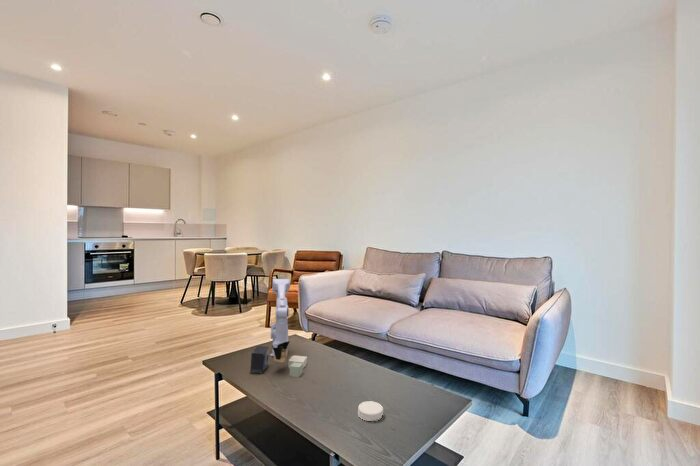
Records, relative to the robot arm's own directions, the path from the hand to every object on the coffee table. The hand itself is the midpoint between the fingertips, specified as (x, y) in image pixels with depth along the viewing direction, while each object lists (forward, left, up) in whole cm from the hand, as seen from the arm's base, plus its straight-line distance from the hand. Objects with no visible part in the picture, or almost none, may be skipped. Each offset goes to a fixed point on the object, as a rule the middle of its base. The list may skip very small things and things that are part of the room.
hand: (280, 357), depth 169 cm
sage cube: (+2, +10, -7) cm, 12 cm away
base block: (-9, +6, -7) cm, 13 cm away
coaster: (+28, +52, -7) cm, 59 cm away
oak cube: (0, 0, -2) cm, 2 cm away
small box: (+2, -10, -7) cm, 13 cm away
